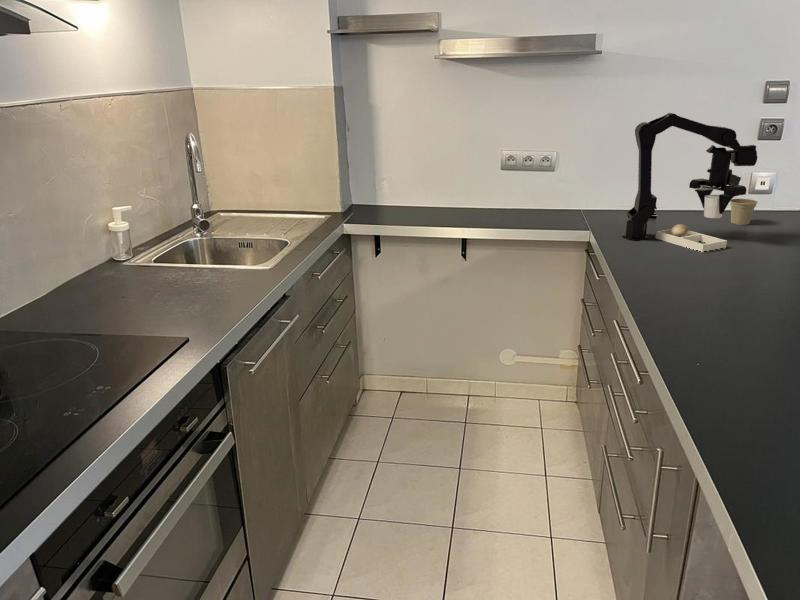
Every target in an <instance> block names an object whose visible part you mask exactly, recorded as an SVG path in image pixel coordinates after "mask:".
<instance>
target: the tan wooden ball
mask: <svg viewBox="0 0 800 600" xmlns="http://www.w3.org/2000/svg"><path fill="white" fill-rule="evenodd" d="M670 229H671V235H673V236H677V237H685V236H687V235H688V230H689V229H688V227H687V225H685V224H682V223H677V224H674V225H673V226H672V228H670Z"/></svg>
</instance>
